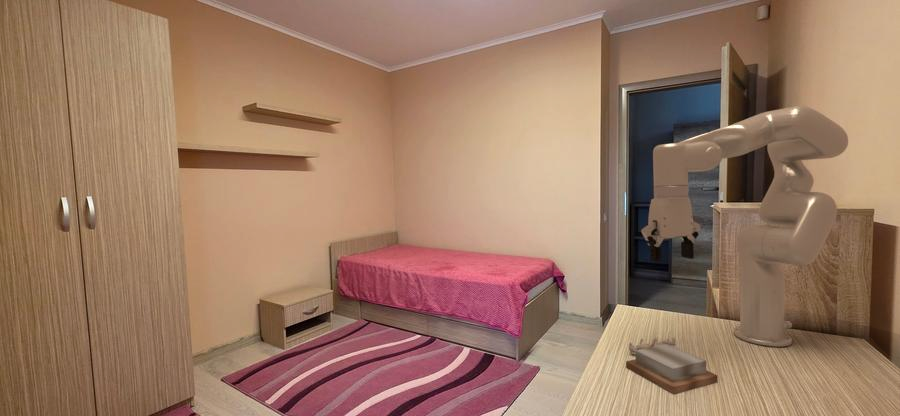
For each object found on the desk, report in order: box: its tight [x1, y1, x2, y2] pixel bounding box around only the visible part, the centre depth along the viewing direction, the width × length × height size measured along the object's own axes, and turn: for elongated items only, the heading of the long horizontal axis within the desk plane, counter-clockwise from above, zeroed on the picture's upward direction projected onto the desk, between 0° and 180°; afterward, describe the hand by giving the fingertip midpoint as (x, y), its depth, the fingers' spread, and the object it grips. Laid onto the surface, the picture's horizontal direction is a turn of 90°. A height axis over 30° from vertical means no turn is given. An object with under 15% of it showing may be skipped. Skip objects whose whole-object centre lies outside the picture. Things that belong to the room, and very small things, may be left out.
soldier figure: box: [628, 336, 676, 354], centre depth 99 cm, size 8×5×12 cm
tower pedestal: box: [625, 344, 718, 395], centre depth 88 cm, size 13×13×4 cm
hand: (672, 259), depth 97 cm, fingers open, 9 cm apart
